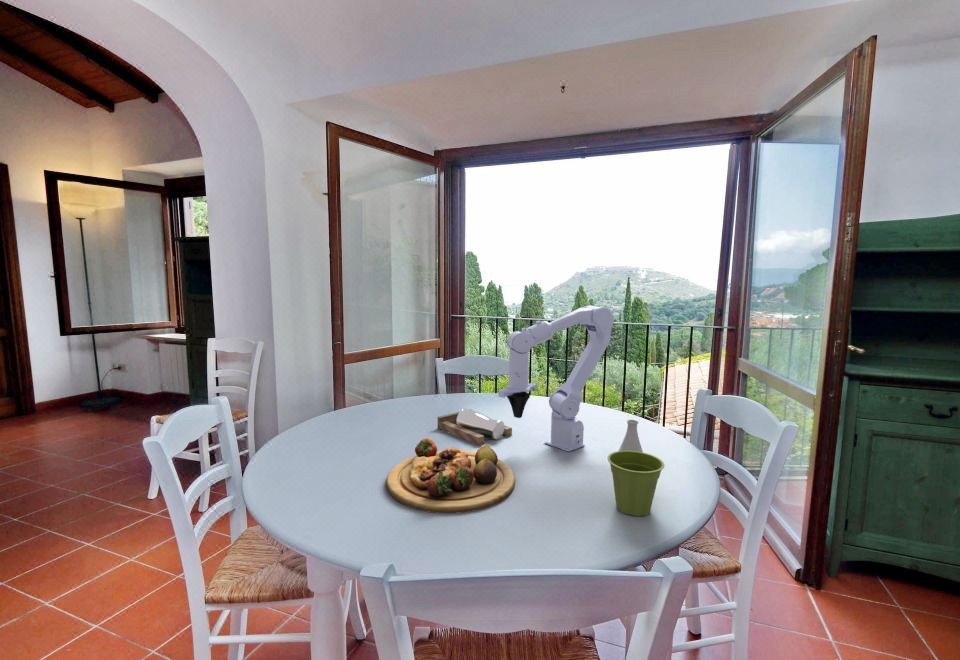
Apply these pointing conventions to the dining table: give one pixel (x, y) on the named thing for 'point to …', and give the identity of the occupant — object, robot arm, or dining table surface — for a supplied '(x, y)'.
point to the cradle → (451, 426)
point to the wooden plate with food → (450, 479)
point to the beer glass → (480, 423)
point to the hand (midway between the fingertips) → (517, 417)
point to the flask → (631, 438)
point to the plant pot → (634, 480)
